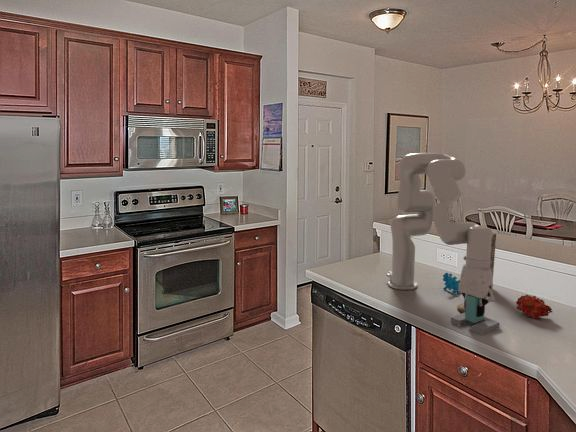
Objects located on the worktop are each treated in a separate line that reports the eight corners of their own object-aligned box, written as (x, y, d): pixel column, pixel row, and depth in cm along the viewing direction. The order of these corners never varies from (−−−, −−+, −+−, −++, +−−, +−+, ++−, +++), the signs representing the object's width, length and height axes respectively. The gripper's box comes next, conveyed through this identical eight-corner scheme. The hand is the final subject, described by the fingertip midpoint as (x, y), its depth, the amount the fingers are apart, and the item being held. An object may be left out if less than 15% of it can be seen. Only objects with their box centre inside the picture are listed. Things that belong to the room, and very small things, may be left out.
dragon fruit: (512, 314, 165) (547, 328, 157) (509, 308, 159) (545, 322, 151) (521, 294, 166) (556, 307, 159) (518, 287, 160) (555, 300, 152)
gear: (453, 293, 179) (440, 272, 184) (443, 300, 182) (431, 279, 187) (468, 291, 185) (456, 270, 190) (458, 298, 189) (446, 278, 194)
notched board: (450, 322, 155) (451, 317, 155) (468, 316, 160) (468, 311, 160) (481, 335, 145) (481, 329, 145) (499, 327, 150) (499, 322, 150)
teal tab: (465, 319, 152) (466, 295, 150) (474, 316, 154) (475, 291, 153) (474, 323, 149) (475, 298, 147) (483, 319, 152) (484, 294, 150)
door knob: (452, 309, 167) (453, 286, 165) (467, 304, 171) (468, 282, 170) (473, 317, 159) (474, 293, 158) (488, 311, 164) (489, 288, 162)
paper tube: (493, 291, 185) (498, 233, 180) (476, 290, 186) (480, 233, 182) (490, 286, 192) (494, 230, 187) (473, 285, 193) (477, 229, 188)
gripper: (450, 259, 153) (447, 308, 156) (493, 270, 139) (490, 324, 143) (463, 255, 157) (461, 304, 160) (507, 266, 143) (503, 319, 147)
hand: (474, 313), depth 151 cm, fingers closed on teal tab, 3 cm apart
